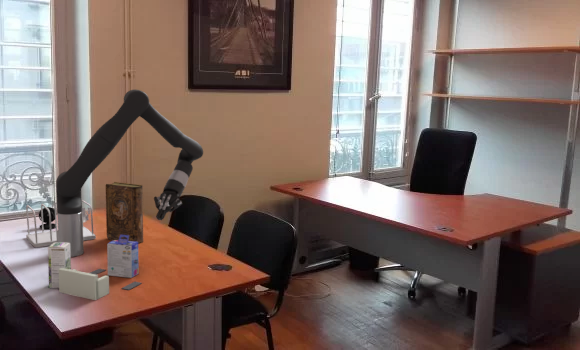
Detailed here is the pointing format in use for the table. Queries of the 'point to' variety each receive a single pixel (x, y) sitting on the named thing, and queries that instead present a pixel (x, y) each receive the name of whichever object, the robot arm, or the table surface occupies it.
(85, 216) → the architectural model
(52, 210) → the webcam
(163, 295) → the table surface
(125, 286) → the pad
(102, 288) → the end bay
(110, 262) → the ink cartridge box
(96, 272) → the pad
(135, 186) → the book
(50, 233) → the file sorter
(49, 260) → the syrup box
